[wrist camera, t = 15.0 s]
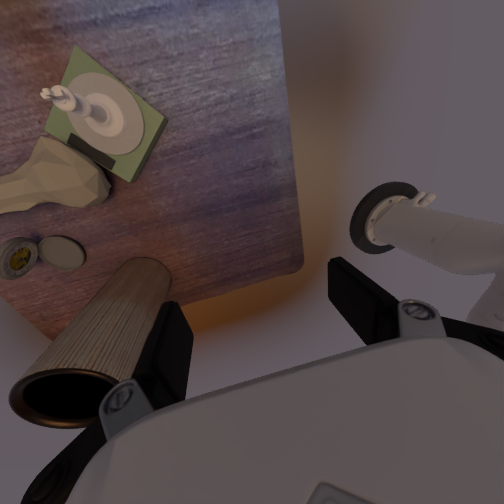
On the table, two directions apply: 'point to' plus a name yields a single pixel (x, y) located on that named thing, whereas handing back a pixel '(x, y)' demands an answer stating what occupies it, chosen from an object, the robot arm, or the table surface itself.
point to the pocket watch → (49, 249)
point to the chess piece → (91, 110)
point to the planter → (93, 349)
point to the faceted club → (54, 179)
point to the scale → (94, 145)
